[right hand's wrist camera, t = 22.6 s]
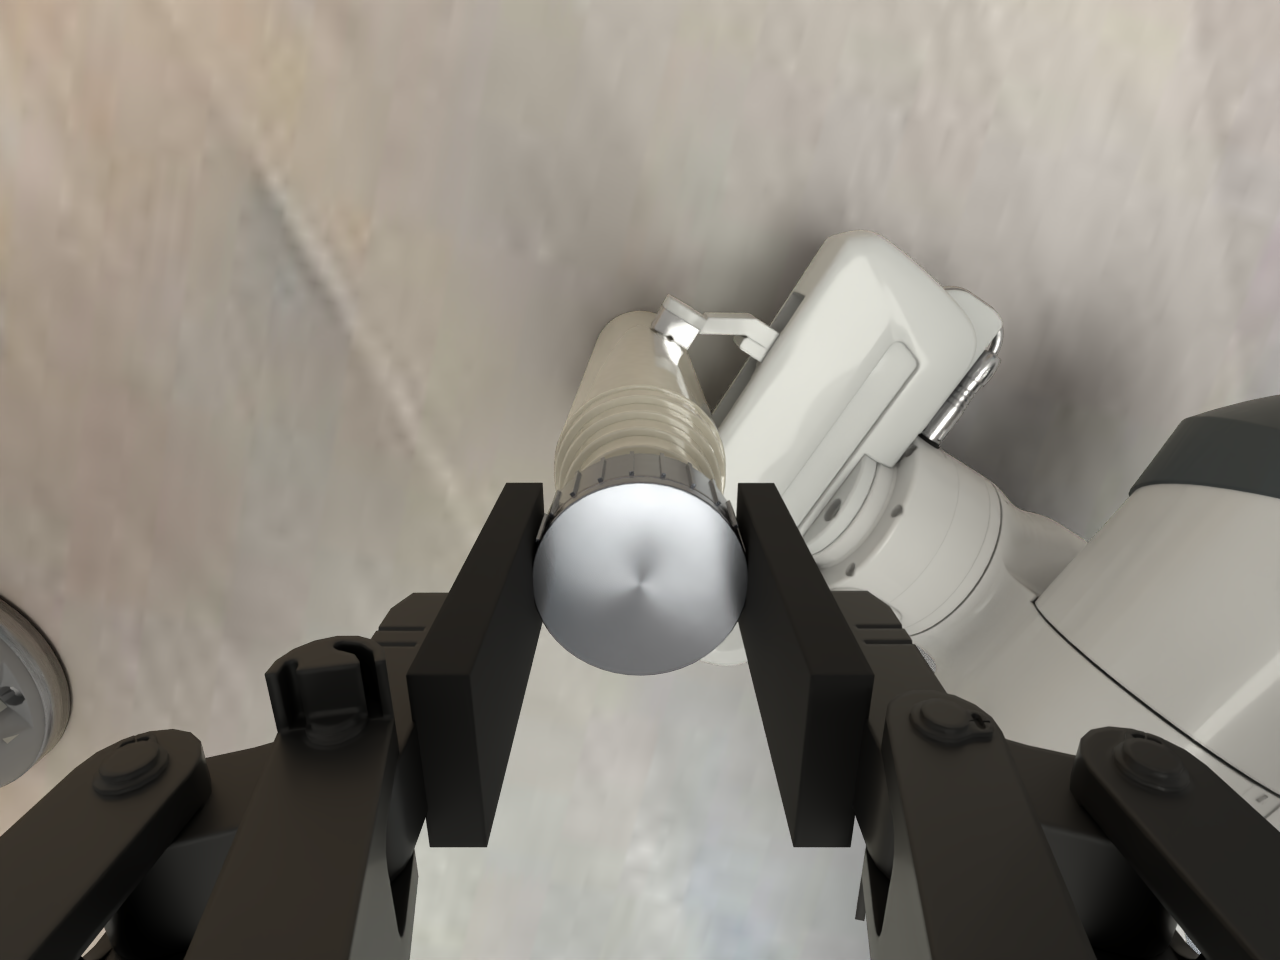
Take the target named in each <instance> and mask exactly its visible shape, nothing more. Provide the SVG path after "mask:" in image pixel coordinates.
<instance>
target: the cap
mask: <svg viewBox="0 0 1280 960" xmlns="http://www.w3.org/2000/svg"><path fill="white" fill-rule="evenodd" d="M738 528H739V525H738V522H737V519H736V516H735V513H734V510H733V507H732V504H731V502H730V500H728V501H727V500H726V499H725V497H724V496H723V494H722V493H721V491H720V490H719V489H718V488H717V487H716V483H715V480H714V479H711V480H709V479H708V478H707V477H706V476H705V475H704V474H702V473H701V472H699V471H698V470H696V469H695V468H693V467H692V464H691V463H689V462H688V463H687V464H685V463H683V462H681V461H679V460H676V459H673V458H670V457H666V456H664V453H660V455H656V454H647V453H646V454H645V453H635V454H634V451H630V454H624V455H619V456H614V457H611V458H608V459H605V457H602V458H601V460H600V461H599V462H597V463H595V464H593V465H591V466H589V467H587V468H586V469H584V470H582V471H581V472H579V470H578V471H576V472H575V475H574V477H573V478H572V479H571V480H570V481H569V482H568V483H567V484H566V485H565V486H564V487H563V488H562V489H561V490H560V491H559V490H557V491H556V493H555V496H554V499H553V502H552V505H551V507H550V509H549V511H548V513H547V514H545V513H544V516H543V519H542V522H541V525H540V528H539V531H538V534H537V537H536V540H535V542H537V543H538V544H537V548H536V551H535V554H534V557H533V562H532V572H533V589H534V602H535V606H536V609H537V611H538V613H539V616H540V618H541V620H542V622H543V623H544V625H545V626H546V628H547V629H548V631H549V632H550V634H551V635H552V636H553V637H554V638H555V640H556V641H557V642H558V643H559V644H560V645H562V646H563V647H564V648H565V649H566V650H567V651H568V652H570V653H571V654H573V655H574V656H575V657H577V658H579V659H580V660H582V661H584V662H586V663H588V664H590V665H592V666H595V667H597V668H600V669H603V670H606V671H610V672H613V673H619V674H625V675H655V674H661V673H667V672H671V671H674V670H678V669H681V668H683V667H686V666H688V665H690V664H693V663H695V662H696V661H698V660H700V659H702V658H703V657H705V656H706V655H708V654H709V653H710V652H712V651H713V650H714V649H716V648H717V647H718V646H719V645H720V644H721V643H722V642H723V641H724V640H725V639H726V638H727V636H728V635H729V634H730V633H731V631H732V630H733V628H734V627H735V625H736V624H737V622H738V620H739V619H740V616H741V614H742V612H743V609H744V607H745V603H746V595H747V579H748V560H747V556H746V553H745V548H744V545H743V542H742V539H741V536H740V533H739V530H738Z"/></svg>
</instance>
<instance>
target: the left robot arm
mask: <svg viewBox="0 0 1280 960" xmlns="http://www.w3.org/2000/svg"><path fill="white" fill-rule="evenodd" d="M651 327H652V328H653V329H655V330H656V331H657V332H659V333H661V334H663V335H665V336H672V338H673V340H674V341H675V342H676V343H677V344H679V345H680V346H682V347H684V348H685V349H688V348H689V346H690V345H691V343H692V342H693V340H694V339H695V337H696V336H697V334H698V333H699V334H718V335H735V336H734V338H733V339H734V342H735V344H736V345H737V346H738V347H739V348H740V349H741V350H742V351H744V352H745V353H747V354H748V355H750V356H749V358H748V359H747V361H746V362H745V364H744V365H743V367H742V368H741V370H740V372H739V373H738V375H737V376H736V378H735V379H734V381H733V382H732V384H731V385H730V387H729V388H728V390H727V391H726V393H725V394H724V396H723V398H722V399H721V401H720V402H719V404H718V405H717V407H716V408H715V410H714V411H713V413H712V417H713V419H714V422H715V425H716V427H717V430H718V432H719V435H720V438H721V440H722V443H723V447H724V451H725V459H726V482H725V489H724V495H723V496H724V497H725V499H726V500H727V501H728V500H730V502H731V504H732V507H733V510H734V513H735V516H736V509H737V491H738V483H774V484H775V486H776V487H777V489H778V491H779V493H780V495H781V497H782V499H783V501H784V503H785V505H786V507H787V508H788V510H789V512H790V514H791V516H792V518H793V520H794V522H795V524H796V526H797V528H798V529H799V531H800V533H801V535H802V537H803V539H804V541H805V543H806V545H807V547H808V549H809V550H810V552H811V554H812V556H813V558H814V560H815V562H816V564H817V566H818V568H819V570H820V572H821V573H822V575H823V577H824V579H825V581H826V583H827V585H828V587H829V589H830V591H869V592H870V593H871V594H873V595H874V596H876V597H877V598H879V599H880V600H881V601H883V602H884V603H886V604H887V605H889V606H890V607H891V609H892V610H893V612H894V613H895V615H896V616H897V618H898V619H899V621H900V622H901V624H902V629H905V630H906V632H907V633H908V635H909V636H910V638H911V639H912V644H915V645H916V646H918V647H920V648H921V649H922V650H924V651H925V652H926V653H927V654H928V655H929V656H930V657H931V658H932V659H933V660H934V662H935V664H936V671H935V672H934V674H935V676H936V677H937V679H938V680H939V682H940V683H941V685H942V686H943V688H944V689H945V691H946V692H947V693H948V694H952V695H956V696H958V697H960V698H962V699H964V700H967V701H969V702H971V703H973V704H975V705H977V706H978V707H979V708H981V709H982V710H983V711H985V712H986V713H987V714H989V715H990V716H991V717H992V718H993V719H994V721H995V722H996V723H997V725H998V726H999V728H1000V729H1001V731H1002V732H1003V735H1004V737H1005V738H1006V739H1008V740H1012V741H1015V742H1019V743H1022V744H1026V745H1030V746H1034V747H1039V748H1044V749H1048V750H1053V751H1058V752H1062V753H1067V754H1071V755H1076V753H1077V750H1078V746H1079V743H1080V739H1081V738H1082V737H1083V736H1084V735H1085V734H1086V733H1087V732H1088V731H1090V730H1091V729H1096V728H1101V727H1107V726H1112V727H1122V728H1131V729H1135V730H1139V731H1143V732H1145V733H1150V734H1153V735H1156V736H1159V737H1161V738H1163V739H1165V740H1167V741H1169V742H1171V743H1173V744H1175V745H1177V746H1179V747H1181V748H1183V749H1185V750H1186V751H1188V752H1189V753H1191V754H1192V755H1193V756H1195V757H1196V758H1197V759H1199V760H1200V761H1201V762H1203V763H1204V764H1206V765H1207V766H1208V767H1209V768H1210V769H1211V770H1212V771H1214V772H1215V773H1216V774H1217V775H1218V776H1219V777H1220V778H1221V779H1222V780H1223V781H1225V782H1226V783H1227V784H1228V785H1229V786H1230V787H1231V788H1232V789H1233V790H1234V791H1236V792H1237V793H1238V794H1239V795H1240V796H1241V797H1242V798H1243V799H1244V800H1245V801H1246V802H1248V803H1249V804H1250V805H1251V806H1252V807H1253V808H1254V809H1255V810H1256V811H1257V812H1259V813H1260V814H1261V815H1262V816H1263V817H1264V818H1265V819H1266V820H1267V821H1268V822H1270V823H1271V824H1272V825H1273V826H1274V827H1275V828H1276V829H1277V830H1278V831H1279V832H1280V395H1275V396H1270V397H1264V398H1259V399H1255V400H1250V401H1245V402H1241V403H1238V404H1234V405H1230V406H1226V407H1222V408H1218V409H1215V410H1211V411H1208V412H1205V413H1202V414H1199V415H1195V416H1192V417H1189V418H1186V419H1184V420H1183V421H1181V423H1180V424H1179V425H1178V427H1177V428H1176V429H1175V431H1174V432H1173V433H1172V435H1171V436H1170V438H1169V439H1168V440H1167V442H1166V443H1165V444H1164V446H1163V447H1162V448H1161V450H1160V451H1159V452H1158V454H1157V455H1156V456H1155V458H1154V459H1153V460H1152V462H1151V463H1150V464H1149V466H1148V467H1147V468H1146V470H1145V471H1144V472H1143V474H1142V475H1141V476H1140V478H1139V479H1138V480H1137V481H1136V483H1135V484H1134V485H1133V487H1132V488H1131V489H1130V492H1129V498H1128V499H1127V500H1126V501H1125V502H1124V504H1123V505H1122V506H1121V507H1120V508H1119V509H1118V510H1117V511H1116V512H1115V513H1114V515H1113V516H1112V517H1111V518H1110V519H1109V520H1108V521H1107V522H1106V523H1105V524H1104V526H1103V527H1102V528H1101V529H1100V530H1099V531H1098V532H1097V533H1096V534H1095V536H1094V537H1093V538H1092V539H1091V540H1090V541H1089V542H1086V541H1085V540H1084V539H1082V538H1081V537H1079V536H1078V535H1076V534H1074V533H1073V532H1071V531H1070V530H1068V529H1067V528H1065V527H1064V526H1062V525H1061V524H1059V523H1057V522H1055V521H1054V520H1052V519H1050V518H1047V517H1045V516H1042V515H1039V514H1036V513H1031V512H1027V511H1023V510H1021V509H1019V508H1017V507H1015V506H1014V505H1013V504H1012V503H1011V502H1010V501H1009V500H1008V498H1007V497H1006V496H1005V494H1004V493H1003V492H1002V491H1001V490H1000V489H999V488H998V487H997V486H996V485H995V484H994V483H993V482H991V481H990V480H989V479H987V478H986V477H984V476H982V475H981V474H979V473H978V472H976V471H974V470H973V469H971V468H970V467H968V466H966V465H965V464H963V463H962V462H960V461H959V460H957V459H955V458H954V457H952V456H951V455H949V454H947V453H946V452H944V451H943V450H941V449H939V448H940V447H938V446H939V444H940V443H941V442H942V441H943V439H944V438H945V437H946V435H947V434H948V433H949V432H950V430H951V429H952V428H953V426H954V425H955V424H956V423H957V421H958V420H959V419H960V417H961V416H962V414H963V413H964V412H963V411H965V409H966V408H967V405H968V404H969V403H970V400H972V398H973V397H974V394H976V393H977V392H978V391H979V389H980V388H981V387H982V386H983V387H984V386H985V385H986V384H987V383H988V382H989V380H990V379H991V378H992V377H993V375H994V374H995V372H996V371H997V369H998V367H999V365H1000V363H1001V359H1000V358H999V357H997V355H998V353H999V351H1000V348H1001V345H1002V342H1003V334H1004V333H1003V324H1002V319H1001V318H1000V316H999V315H998V313H997V312H996V311H995V309H994V308H993V307H991V306H990V305H989V304H987V303H986V302H984V301H983V300H981V299H980V298H978V297H977V296H975V295H974V294H973V293H971V292H970V291H968V290H966V289H964V288H961V287H956V286H945V287H942V286H941V285H940V284H939V283H938V282H936V281H935V280H934V279H933V278H932V277H931V276H930V275H929V274H928V273H927V272H926V271H925V270H924V269H923V268H922V267H920V266H919V265H918V264H917V263H916V262H915V261H914V260H912V259H911V258H910V257H909V256H908V255H907V254H905V253H904V252H903V251H901V250H900V249H899V248H898V247H896V246H895V245H894V244H892V243H891V242H890V241H888V240H887V239H886V238H884V237H883V236H881V235H879V234H877V233H874V232H871V231H867V230H854V231H848V232H844V233H839V234H835V235H832V236H830V237H829V238H827V239H826V240H825V242H824V243H823V245H822V246H821V247H820V249H819V251H818V252H817V254H816V255H815V257H814V258H813V260H812V261H811V263H810V264H809V266H808V267H807V269H806V270H805V272H804V273H803V275H802V277H801V278H800V280H799V281H798V283H797V284H796V286H795V287H794V289H793V290H792V292H791V293H790V295H789V296H788V298H787V300H786V301H785V303H784V304H783V306H782V307H781V309H780V310H779V312H778V313H777V315H776V316H775V318H774V319H773V321H772V322H771V324H770V326H769V325H767V324H766V323H764V322H762V321H761V320H759V319H758V318H756V317H754V316H753V315H751V314H750V313H722V312H704V314H701V313H699V312H698V311H696V310H694V309H693V308H691V307H690V306H688V305H686V304H685V303H683V302H682V301H680V300H678V299H677V298H675V297H673V296H671V295H669V294H668V295H667V297H666V299H665V300H664V302H663V304H662V305H661V307H660V309H659V310H658V312H657V314H656V316H655V317H654V319H653V321H652V323H651ZM991 341H992V343H991V346H990V348H989V351H987V350H985V349H986V348H987V346H988V345H989V344H990V342H991ZM700 661H703V662H706V663H709V664H714V665H720V666H735V665H740V664H743V663H746V662H748V661H747V657H746V653H745V649H744V644H743V640H742V636H741V632H740V628H739V624H738V622H737V624H736V625H735V627H734V628H733V630H732V631H731V633H730V634H729V635H728V636H727V638H726V639H725V640H724V641H723V642H722V643H721V644H720V645H719V646H718V647H717V648H716V649H714V650H713V651H712V652H710V653H709V654H708V655H706V656H705V657H703V658H702V659H700ZM1176 930H1177V932H1178V933H1179V934H1180V935H1181V937H1182V938H1183V939H1184V940H1185V942H1186V943H1187V941H1186V936H1185V932H1184V931H1183V930H1182V928H1181V927H1180V926H1179V925H1178V924H1177V927H1176Z"/></svg>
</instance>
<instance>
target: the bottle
mask: <svg viewBox="0 0 1280 960" xmlns="http://www.w3.org/2000/svg"><path fill="white" fill-rule="evenodd" d="M655 316H656V313H653V312H649V311H631V312H627V313H624V314H622V315H619V316H618V317H616V318H614V319H613V320H612V321H610V322H609V323H608V324H607V325H606V326H605V327H604V329H603V330H602V331H601V333H600V335H599V337H598V339H597V342H596V344H595V347H594V349H593V352H592V355H591V357H590V360H589V362H588V365H587V368H586V370H585V373H584V375H583V378H582V381H581V383H580V386H579V388H578V391H577V394H576V396H575V399H574V402H573V404H572V407H571V409H570V412H569V415H568V417H567V420H566V422H565V425H564V428H563V430H562V433H561V435H560V438H559V441H558V444H557V448H556V452H555V461H554V470H555V472H554V478H555V488H556V491H557V490H559V491H560V490H561V489H562V488H563V487H564V486H565V485H566V484H567V483H568V482H569V481H570V480H571V479H572V478H573V477H574V475H575V472H576V471H578V470H579V472H581V471H582V470H584V469H586V468H587V467H589V466H591V465H593V464H595V463H597V462H599V461H600V460H601V458H602V457H605V459H608V458H611V457H614V456H619V455H624V454H630V451H634V454H635V453H645V454H646V453H647V454H656V455H660V453H664V456H666V457H670V458H673V459H676V460H679V461H681V462H683V463H685V464H687V463H688V462H689V463H691V464H692V467H693V468H695V469H696V470H698V471H699V472H701V473H702V474H704V475H705V476H706V477H707V478H708V479H709V480H711V479H714V480H715V483H716V487H717V488H718V489H719V490H720V491H721V493H722V494H723V495H724V489H725V482H726V459H725V451H724V447H723V443H722V440H721V438H720V435H719V432H718V430H717V427H716V425H715V422H714V419H713V417H712V414H711V412H710V409H709V406H708V404H707V401H706V399H705V396H704V393H703V391H702V388H701V386H700V383H699V380H698V378H697V375H696V373H695V370H694V367H693V365H692V362H691V360H690V357H689V354H688V352H687V349H685V348H684V347H682V346H680V345H679V344H677V343H676V342H675V341H674V340H673V338H672V336H665V335H663V334H661V333H659V332H657V331H656V330H655V329H653V328H652V327H651V323H652V321H653V319H654V317H655Z"/></svg>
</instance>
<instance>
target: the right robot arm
mask: <svg viewBox="0 0 1280 960" xmlns="http://www.w3.org/2000/svg"><path fill="white" fill-rule="evenodd" d="M543 516H544V501H543V483H506V484H505V486H504V488H503V490H502V492H501V494H500V496H499V498H498V500H497V502H496V504H495V505H494V507H493V509H492V511H491V513H490V515H489V517H488V519H487V521H486V523H485V525H484V527H483V528H482V530H481V532H480V534H479V536H478V538H477V540H476V542H475V544H474V546H473V548H472V549H471V551H470V553H469V555H468V557H467V559H466V561H465V563H464V565H463V567H462V569H461V570H460V572H459V574H458V576H457V578H456V580H455V582H454V584H453V586H452V588H451V590H450V591H449V593H412V594H411V595H410V596H408V597H407V598H405V599H404V600H402V601H401V602H400V603H398V604H397V605H395V606H394V607H392V608H391V609H390V611H389V612H388V614H387V615H386V617H385V618H384V620H383V621H382V623H381V624H380V626H379V631H376V632H375V634H374V635H373V637H372V638H371V639H368V638H364V637H360V636H335V637H330V638H325V639H320V640H315V641H313V642H310V643H308V644H305V645H303V646H300V647H298V648H295V649H293V650H291V651H290V652H288V653H287V654H285V655H284V656H282V657H281V658H279V659H278V660H276V661H275V662H274V663H273V665H272V666H271V667H270V668H269V669H268V671H267V672H266V673H265V678H266V682H267V687H268V691H269V696H270V700H271V705H272V709H273V713H274V718H275V722H276V727H277V731H278V733H277V736H276V738H275V740H274V742H272V743H269V744H265V745H262V746H258V747H255V748H250V749H246V750H241V751H236V752H232V753H227V754H223V755H218V756H213V757H209V758H205V755H204V751H203V748H202V744H201V741H200V740H199V739H198V738H196V737H195V736H194V735H193V734H192V733H191V732H186V731H180V730H175V729H169V730H159V731H149V732H146V733H142V734H138V735H136V736H131V737H129V738H126V739H123V740H121V741H119V742H117V743H115V744H113V745H111V746H109V747H107V748H105V749H103V750H101V751H98V752H97V753H95V754H94V755H93V756H91V757H90V758H88V759H87V760H86V761H84V762H83V763H82V764H80V765H79V766H78V767H76V768H75V769H74V770H73V771H72V772H70V773H69V774H68V775H67V776H66V777H65V778H64V779H63V780H62V781H61V782H60V783H59V784H57V785H56V786H55V787H54V788H53V789H52V790H51V791H50V792H49V793H48V794H47V795H45V796H44V797H43V798H42V799H41V800H40V801H39V802H38V803H37V804H36V805H35V806H33V807H32V808H31V809H30V810H29V811H28V812H27V813H26V814H25V815H24V816H23V817H21V818H20V819H19V820H18V821H17V822H16V823H15V824H14V825H13V826H12V827H11V828H9V829H8V830H7V831H6V832H5V833H4V834H3V835H2V836H1V837H0V960H410V950H411V941H412V932H413V922H414V913H415V903H416V894H417V884H418V870H417V863H416V856H415V850H414V848H415V845H416V842H417V840H418V837H419V834H420V831H421V829H422V826H423V823H424V820H425V817H426V823H427V830H428V837H429V844H430V847H487V845H488V841H489V837H490V832H491V828H492V824H493V820H494V816H495V812H496V808H497V804H498V800H499V796H500V792H501V788H502V784H503V780H504V776H505V772H506V768H507V764H508V760H509V755H510V751H511V747H512V743H513V739H514V735H515V731H516V727H517V723H518V719H519V715H520V711H521V707H522V703H523V699H524V695H525V691H526V687H527V683H528V679H529V674H530V670H531V666H532V662H533V658H534V654H535V650H536V646H537V642H538V638H539V634H540V630H541V626H542V620H541V618H540V616H539V613H538V611H537V609H536V606H535V602H534V589H533V572H532V562H533V557H534V554H535V551H536V548H537V544H538V543H537V542H535V540H536V537H537V534H538V531H539V528H540V525H541V522H542V519H543ZM736 519H737V522H738V525H739V528H738V530H739V533H740V536H741V539H742V542H743V545H744V548H745V553H746V556H747V560H748V579H747V595H746V603H745V607H744V609H743V612H742V614H741V616H740V619H739V620H738V624H739V628H740V632H741V636H742V640H743V644H744V649H745V653H746V657H747V661H748V665H749V669H750V673H751V677H752V681H753V685H754V689H755V693H756V697H757V701H758V705H759V709H760V713H761V717H762V721H763V725H764V729H765V734H766V738H767V742H768V746H769V750H770V754H771V758H772V762H773V766H774V770H775V774H776V778H777V782H778V786H779V790H780V794H781V798H782V802H783V806H784V810H785V814H786V819H787V823H788V827H789V831H790V835H791V839H792V843H793V847H851V840H852V833H853V826H854V819H855V816H856V818H857V821H858V824H859V827H860V829H861V832H862V835H863V838H864V840H865V843H866V850H865V856H864V863H863V869H862V876H861V883H860V889H859V896H858V902H857V909H856V917H855V919H857V920H862V921H864V919H865V913H866V921H867V930H868V939H869V949H870V958H871V960H1280V832H1279V831H1278V830H1277V829H1276V828H1275V827H1274V826H1273V825H1272V824H1271V823H1270V822H1268V821H1267V820H1266V819H1265V818H1264V817H1263V816H1262V815H1261V814H1260V813H1259V812H1257V811H1256V810H1255V809H1254V808H1253V807H1252V806H1251V805H1250V804H1249V803H1248V802H1246V801H1245V800H1244V799H1243V798H1242V797H1241V796H1240V795H1239V794H1238V793H1237V792H1236V791H1234V790H1233V789H1232V788H1231V787H1230V786H1229V785H1228V784H1227V783H1226V782H1225V781H1223V780H1222V779H1221V778H1220V777H1219V776H1218V775H1217V774H1216V773H1215V772H1214V771H1212V770H1211V769H1210V768H1209V767H1208V766H1207V765H1206V764H1204V763H1203V762H1201V761H1200V760H1199V759H1197V758H1196V757H1195V756H1193V755H1192V754H1191V753H1189V752H1188V751H1186V750H1185V749H1183V748H1181V747H1179V746H1177V745H1175V744H1173V743H1171V742H1169V741H1167V740H1165V739H1163V738H1161V737H1159V736H1156V735H1153V734H1150V733H1145V732H1143V731H1139V730H1135V729H1131V728H1122V727H1112V726H1107V727H1101V728H1096V729H1091V730H1090V731H1088V732H1087V733H1086V734H1085V735H1084V736H1083V737H1082V738H1081V739H1080V743H1079V746H1078V750H1077V753H1076V755H1071V754H1067V753H1062V752H1058V751H1053V750H1048V749H1044V748H1039V747H1034V746H1030V745H1026V744H1022V743H1019V742H1015V741H1012V740H1008V739H1006V738H1005V737H1004V735H1003V732H1002V731H1001V729H1000V728H999V726H998V725H997V723H996V722H995V721H994V719H993V718H992V717H991V716H990V715H989V714H987V713H986V712H985V711H983V710H982V709H981V708H979V707H978V706H977V705H975V704H973V703H971V702H969V701H967V700H964V699H962V698H960V697H958V696H956V695H952V694H948V693H947V692H946V691H945V689H944V688H943V686H942V685H941V683H940V682H939V680H938V679H937V677H936V676H935V674H934V673H933V671H932V669H931V668H930V666H929V665H928V663H927V662H926V660H925V659H924V657H923V656H922V654H921V653H920V651H919V650H918V648H917V647H916V645H915V644H912V639H911V638H910V636H909V635H908V633H907V632H906V630H905V629H902V624H901V622H900V621H899V619H898V618H897V616H896V615H895V613H894V612H893V610H892V609H891V607H890V606H889V605H887V604H886V603H884V602H883V601H881V600H880V599H879V598H877V597H876V596H874V595H873V594H871V593H870V592H869V591H830V589H829V587H828V585H827V583H826V581H825V579H824V577H823V575H822V573H821V572H820V570H819V568H818V566H817V564H816V562H815V560H814V558H813V556H812V554H811V552H810V550H809V549H808V547H807V545H806V543H805V541H804V539H803V537H802V535H801V533H800V531H799V529H798V528H797V526H796V524H795V522H794V520H793V518H792V516H791V514H790V512H789V510H788V508H787V507H786V505H785V503H784V501H783V499H782V497H781V495H780V493H779V491H778V489H777V487H776V486H775V484H774V483H738V491H737V509H736ZM69 711H70V697H69V689H68V685H67V681H66V678H65V675H64V672H63V669H62V667H61V665H60V663H59V661H58V659H57V657H56V656H55V654H54V652H53V650H52V649H51V647H50V646H49V645H48V643H47V642H46V640H45V639H44V638H43V637H42V635H41V634H40V633H39V632H38V631H37V630H36V628H35V627H34V626H33V625H32V624H31V623H30V622H29V621H28V620H27V619H26V618H24V617H23V616H22V615H21V614H20V613H19V612H17V611H16V610H15V609H14V608H12V607H11V606H10V605H8V604H7V603H6V602H4V601H3V600H1V599H0V787H2V786H5V785H7V784H9V783H11V782H13V781H15V780H16V779H18V778H19V777H21V776H22V775H23V774H24V773H25V772H27V771H28V770H29V769H30V768H31V767H32V766H33V765H34V764H36V763H37V762H38V761H39V760H40V759H41V758H42V757H44V756H45V755H46V754H47V753H48V752H49V751H50V750H51V749H52V748H53V747H54V746H55V745H56V744H57V742H58V741H59V740H60V738H61V736H62V735H63V733H64V730H65V728H66V725H67V722H68V718H69ZM1177 924H1178V925H1179V926H1180V927H1181V928H1182V930H1183V931H1184V932H1185V933H1186V935H1187V936H1188V937H1189V938H1190V939H1191V941H1192V942H1193V943H1194V944H1195V946H1196V947H1197V948H1198V949H1199V951H1200V952H1201V954H1200V955H1199V954H1197V953H1196V952H1195V951H1194V950H1193V949H1192V948H1191V947H1190V946H1189V945H1188V944H1187V943H1186V942H1185V940H1184V939H1183V938H1182V937H1181V935H1180V934H1179V933H1178V932H1177V930H1176V927H1177ZM103 928H105V930H106V932H105V934H104V935H103V936H102V937H101V939H100V940H99V941H98V942H97V944H96V945H95V946H94V947H93V948H92V949H91V950H90V951H89V952H88V953H87V954H86V955H84V956H83V957H81V955H82V954H83V953H84V951H85V950H86V949H87V948H88V946H89V945H90V944H91V943H92V941H93V940H94V939H95V938H96V936H97V935H98V934H99V933H100V931H101V930H102V929H103Z"/></svg>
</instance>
